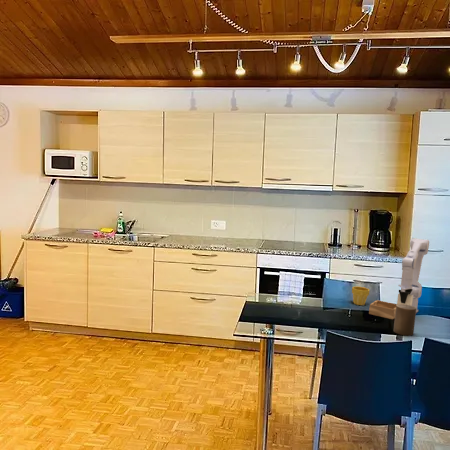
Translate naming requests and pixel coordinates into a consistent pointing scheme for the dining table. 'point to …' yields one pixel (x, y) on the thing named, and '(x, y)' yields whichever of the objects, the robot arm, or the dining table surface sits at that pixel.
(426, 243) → the robot arm
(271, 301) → the dining table surface
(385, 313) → the big crate
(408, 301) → the small crate
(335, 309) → the dining table surface
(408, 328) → the pillar candle
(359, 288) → the plant pot
